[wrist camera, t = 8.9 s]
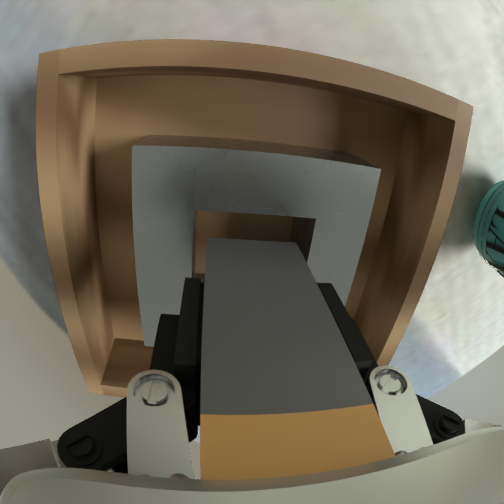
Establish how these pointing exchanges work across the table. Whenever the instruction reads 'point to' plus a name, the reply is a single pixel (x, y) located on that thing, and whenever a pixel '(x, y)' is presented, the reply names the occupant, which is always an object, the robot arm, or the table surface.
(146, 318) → the block
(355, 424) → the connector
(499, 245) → the beverage bottle
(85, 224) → the walled box
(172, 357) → the robot arm
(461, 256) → the table surface
